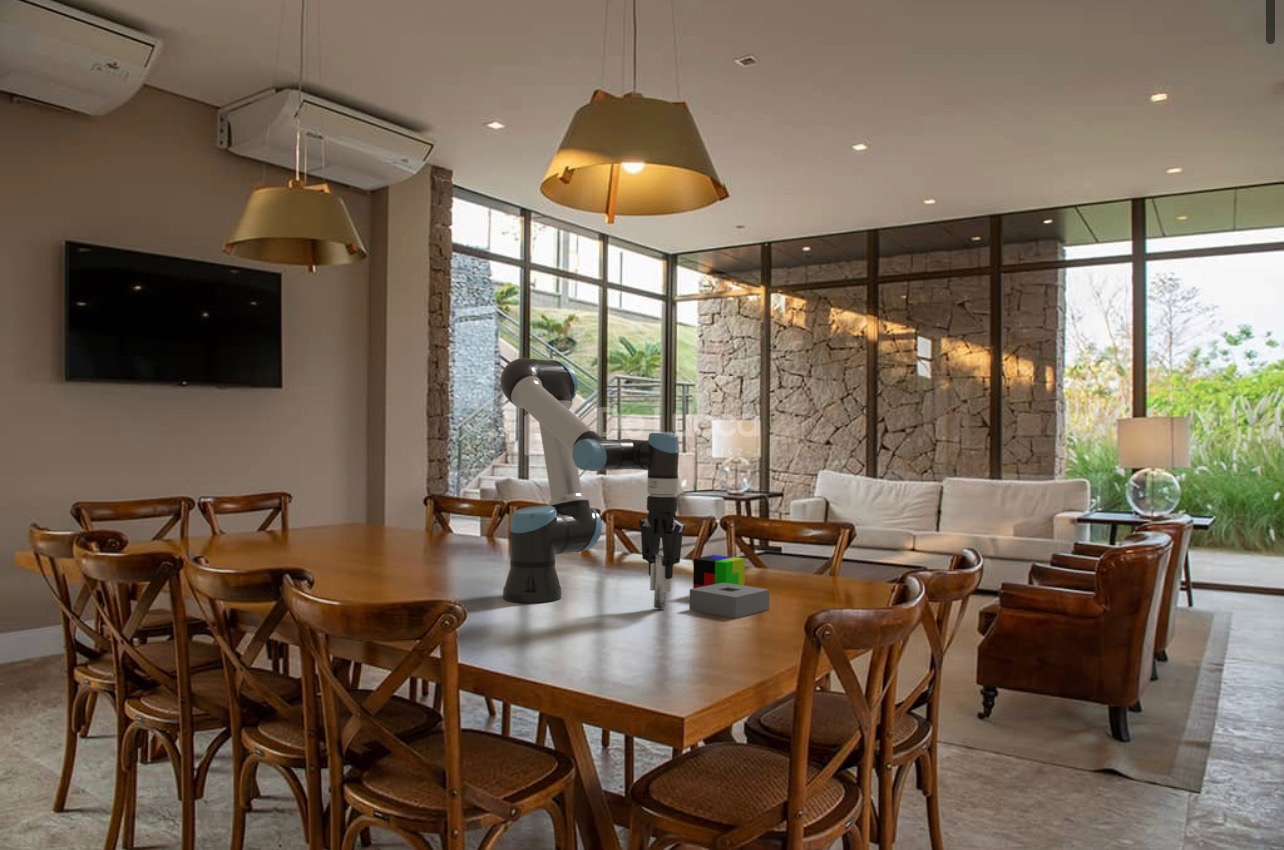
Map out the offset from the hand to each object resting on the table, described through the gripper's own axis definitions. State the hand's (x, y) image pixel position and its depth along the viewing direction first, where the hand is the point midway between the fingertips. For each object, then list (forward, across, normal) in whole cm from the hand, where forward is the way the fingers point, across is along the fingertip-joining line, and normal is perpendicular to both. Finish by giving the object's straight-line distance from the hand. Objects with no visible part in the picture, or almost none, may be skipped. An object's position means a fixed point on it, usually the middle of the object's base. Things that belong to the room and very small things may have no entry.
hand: (660, 590), depth 213 cm
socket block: (+4, +12, +12) cm, 18 cm away
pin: (+4, 0, 0) cm, 4 cm away
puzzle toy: (+5, -1, +25) cm, 25 cm away
